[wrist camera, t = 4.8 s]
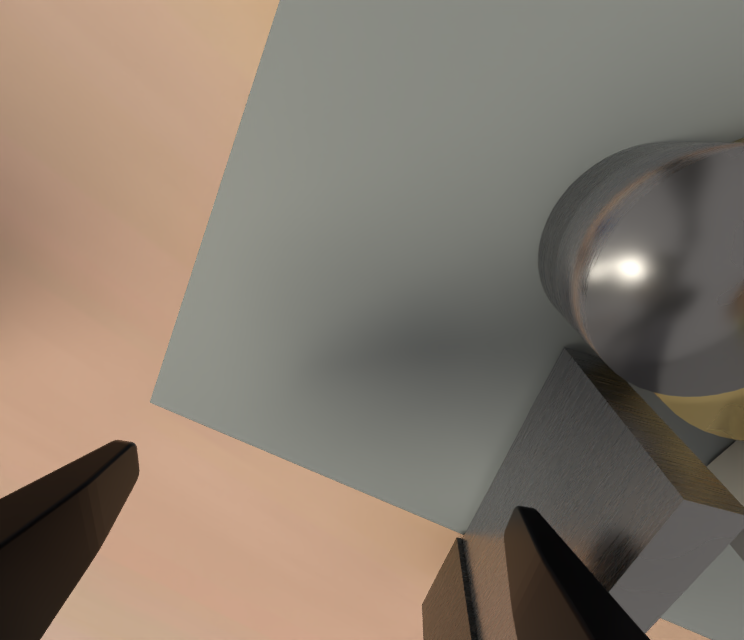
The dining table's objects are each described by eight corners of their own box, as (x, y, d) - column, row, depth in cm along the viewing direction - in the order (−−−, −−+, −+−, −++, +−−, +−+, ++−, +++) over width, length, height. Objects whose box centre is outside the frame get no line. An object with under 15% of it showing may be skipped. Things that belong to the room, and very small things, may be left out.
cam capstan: (383, 590, 16) (375, 788, 11) (617, 59, 9) (908, -48, 4) (593, 640, 17) (675, 851, 12) (992, 176, 9) (1698, 220, 4)
